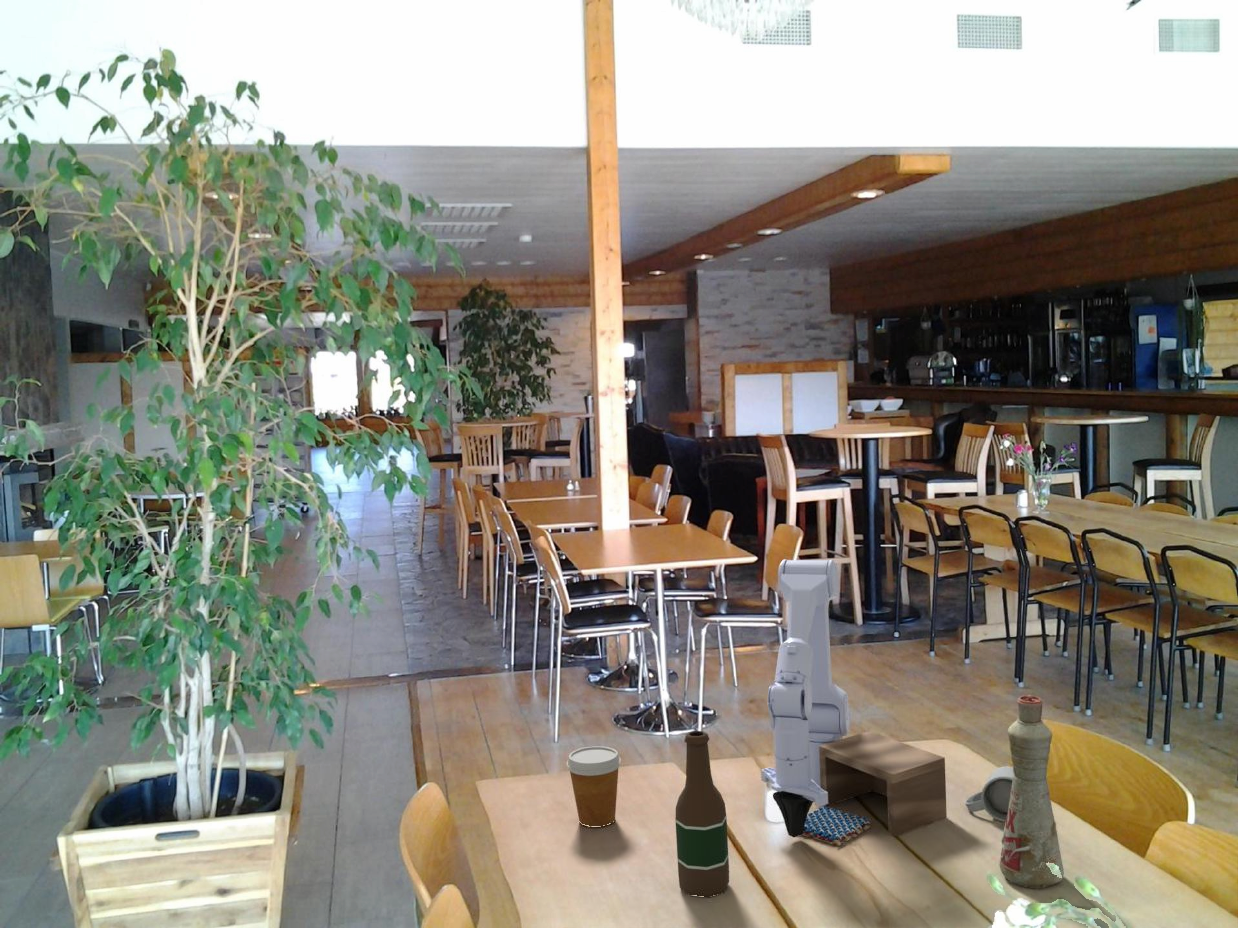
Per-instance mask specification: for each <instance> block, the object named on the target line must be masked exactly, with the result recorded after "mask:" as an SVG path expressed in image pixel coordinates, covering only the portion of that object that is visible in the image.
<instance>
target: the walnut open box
mask: <svg viewBox="0 0 1238 928" xmlns="http://www.w3.org/2000/svg"><path fill="white" fill-rule="evenodd" d="M819 758H820V782H821V789H823V790H824V791H826V792H828V804H825V806H826V807H829V806H832V805H834V804H838V803H840V802H843V801H846V800H849V799H853V798H855V797H858V796H861V795H865V794H867V793H870V792H876V793H878V794H880V795H882V796H885V797H886V798H887V818H888V821H887V822H888V826H887V827H888V834H889V835H891V836H894V837H897V836H900V835H903V834H906V833H909V832H910V831H914V830H916V829H919V828H923V827H925V826H928V825H931V824H933V823H935V822H939V821H941V820H944V819H947V818H948V817H947V816H948V815H947V790H946V789H947V786H946V785H947V784H946V757H945V756H941V755H938V754H936V753H933V752H930V751H927V750H924V749H921V748H919V747H915V746H912V745H909V744H908V743H904V742H901V741H899V740H896V739H893V738H890V737H887V736H883V735H881V734H879V733H875V732H873V731H870V730H869V731H865V732H862V733H858V734H855V735H851V736H847V737H846V738H845V737H844V738H842V739H841V740H838V741H834V742H831V743H827V744H824V745H821V746H819Z"/></svg>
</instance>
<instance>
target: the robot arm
mask: <svg viewBox="0 0 1238 928" xmlns="http://www.w3.org/2000/svg"><path fill="white" fill-rule="evenodd" d="M838 568H839V567H838V564H837V563H836V561H835V560H834V559H829V560H826V559H825V560H824V559H823V560H822V559H821V560H819V559H817V560H814V559H813V560H812V559H811V560H808V559H807V560H804V559H802V560H801V559H785V558H784V559H782V561H781V562H780V564H778V571H777V580H778V581H777V583H778V589H779V591H780V592H781V594H782V598H783V600H784V601H785V602H787V604H788V606H787V607H788V609H787V628H786V629H787V630H786V631H787V632H786V640H785V641H783V642H782V643H781V644H780V645H779V647H778V654H777V661H776V667H775V675H774V680H773V682H774V683H773V684H771V685H770V686H769V688H768V692H767V710H768V715H769V719H770V727H771V729H772V731H773V747H774V767H775V768H773V767H771V766H770V767H766V768H763V769H762V768H761V769H760V781H762V782H763V783H767V782H769V783H771V789H772V790H773V791H775V792H773V793H772V798H773V800H774V801H775V804H776V805H777V806H778V809H779V811H780V813H781V815H782V818H783V821H784V824H785V825H784V826H785V828H786V831H787V835H788V836H789V837H792V838H797V837H799V836H804V835H803V831H804V826H805V822H806V818H807V815H808V814H809V813H810V812H809V811H810V809H811V808H812V805H813V804H814V805H815V806H817V807H823V806H824V805H825V804H828V792H826V791H824V790H823V789H821V782H820V758H819V746H821V745H824V744H827V743H831V742H834V741H838V740H841V739H843V737H846V736H847V734H849V732H850V730H851V729H850V728H851V707H850V703H849V696H848V693H847V692H846V691H845V690H843V689H842V688H840V687H839V686H837V685H836V684H835V683H833V675H832V660H831V641H830V640H831V639H830V620H829V619H830V618H829V605H830V601H832V600H835V599H838V598H839V594H840V583H839V581H840V580H839V579H840V577H839V569H838ZM825 806H826V805H825Z"/></svg>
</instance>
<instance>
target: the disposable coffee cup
mask: <svg viewBox="0 0 1238 928" xmlns="http://www.w3.org/2000/svg"><path fill="white" fill-rule="evenodd" d="M621 762H622V759H621V757H620V756H619V754H618V751H617V750H616V749H614V748H612V747H608V746H602V745H601V746H600V745H599V746H598V745H597V746H595V745H594V746H587V747H586V746H585V747H580V748H578V749H575V750H573V751H572V752H570V753H569V754H568V760H567V761H566V766H567V768H568V770H569V774H570V778H571V785H572V789H573V795H574V800H575V804H576V805H575V807H576V810H577V811H576V812H577V816H578V822H579V821H580V822H581V823H582V824H585V825H589V826H603V825H607V824H609V823H612V822H613V821H614V820H615V821H616V810H617V796H618V795H617V794H618V783H619V782H618V781H619V767H620V765H621ZM615 821H614V822H615ZM580 822H579V823H580ZM614 822H613V823H614ZM613 823H612V824H613Z"/></svg>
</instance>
